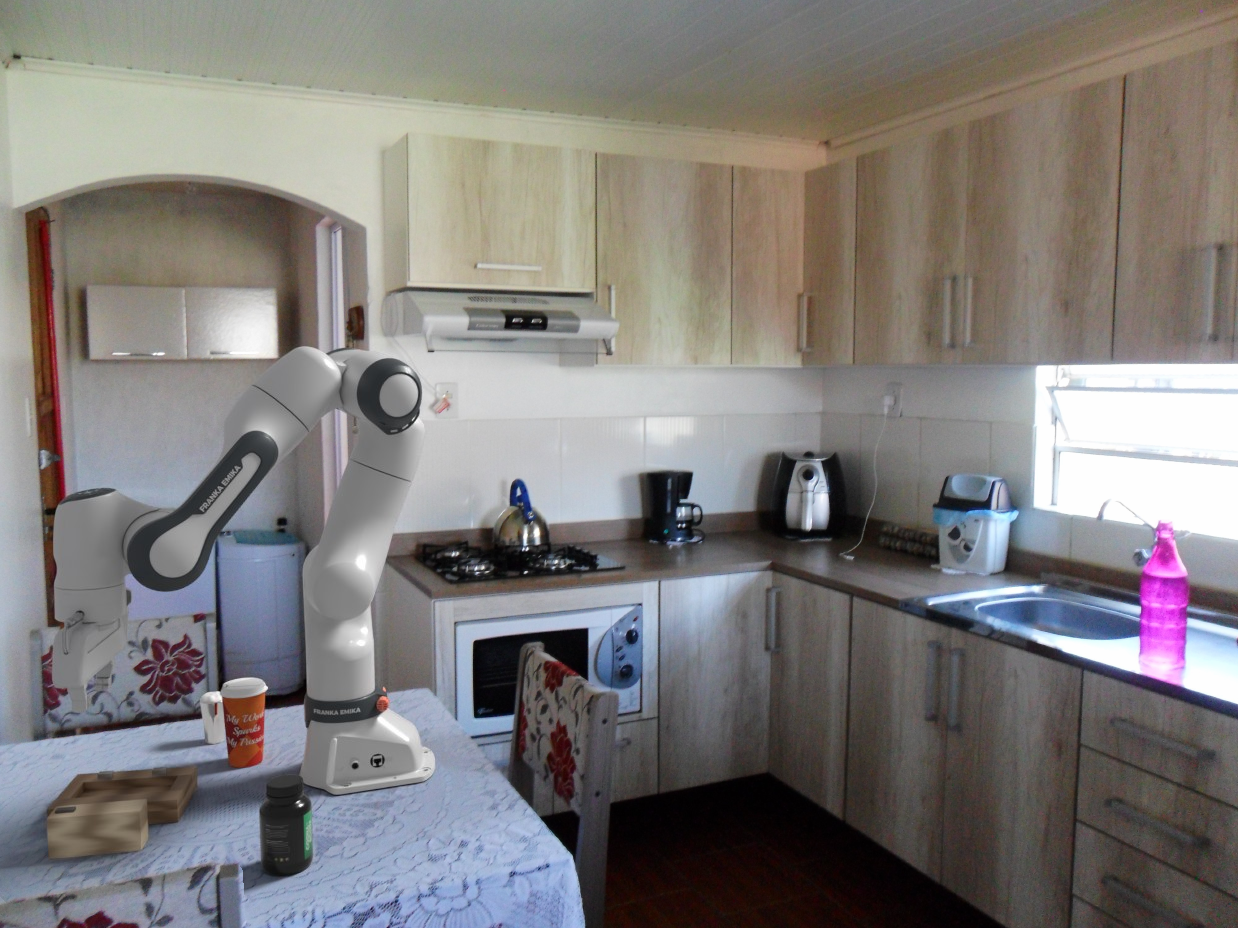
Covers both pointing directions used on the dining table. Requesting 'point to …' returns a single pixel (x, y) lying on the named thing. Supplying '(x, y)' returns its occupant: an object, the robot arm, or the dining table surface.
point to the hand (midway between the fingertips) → (92, 699)
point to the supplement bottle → (285, 827)
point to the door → (97, 828)
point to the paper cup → (244, 720)
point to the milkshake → (213, 717)
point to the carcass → (135, 790)
